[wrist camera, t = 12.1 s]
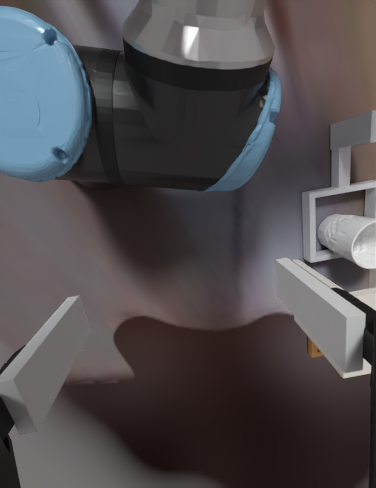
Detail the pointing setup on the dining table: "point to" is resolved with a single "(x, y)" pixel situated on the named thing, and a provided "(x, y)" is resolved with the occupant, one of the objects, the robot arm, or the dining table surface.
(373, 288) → the tunnel
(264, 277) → the dining table surface
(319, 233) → the white cup
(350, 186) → the square frame with handle
